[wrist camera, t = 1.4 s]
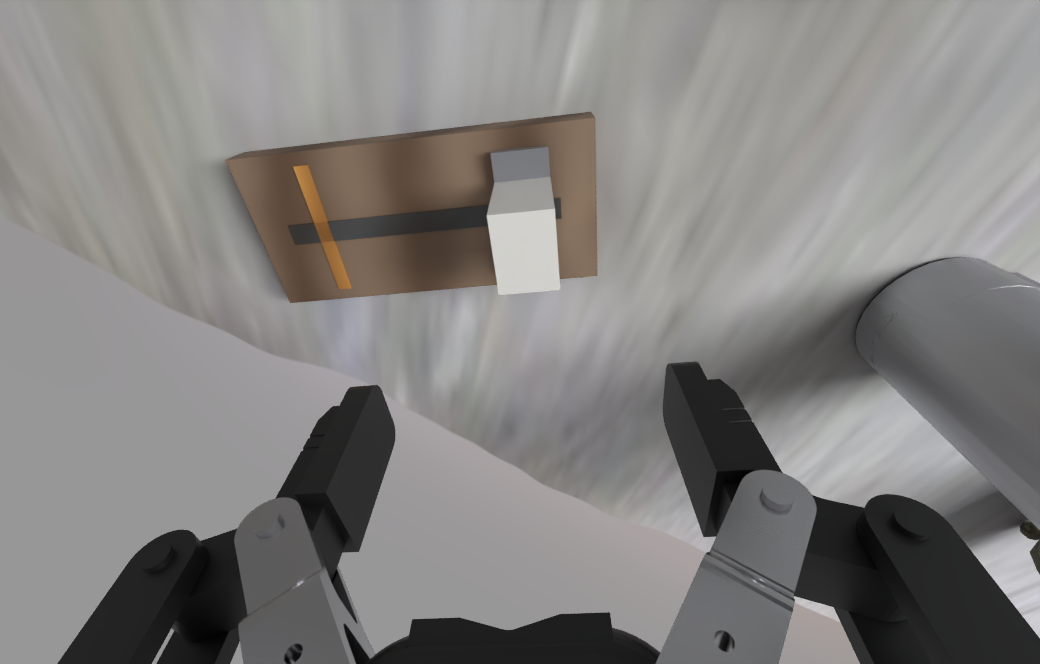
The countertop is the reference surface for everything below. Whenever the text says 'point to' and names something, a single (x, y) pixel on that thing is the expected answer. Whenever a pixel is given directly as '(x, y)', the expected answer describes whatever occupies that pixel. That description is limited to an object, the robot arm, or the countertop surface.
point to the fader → (523, 221)
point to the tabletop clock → (1032, 532)
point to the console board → (410, 207)
